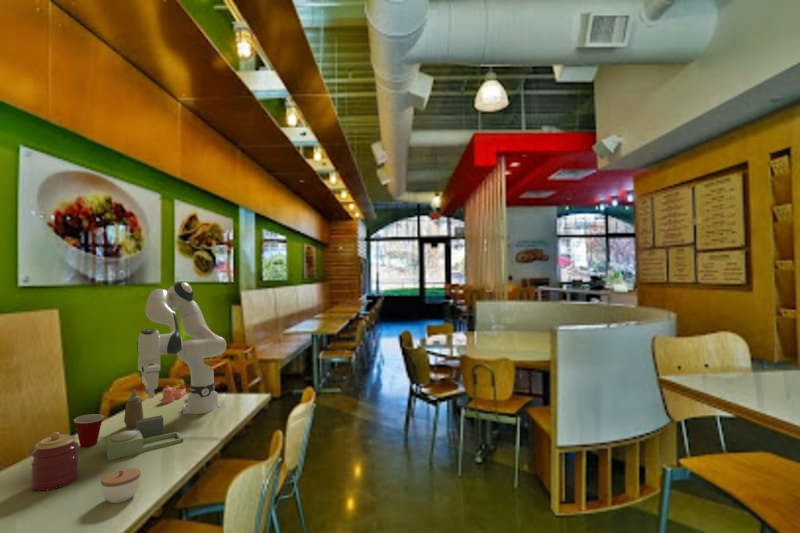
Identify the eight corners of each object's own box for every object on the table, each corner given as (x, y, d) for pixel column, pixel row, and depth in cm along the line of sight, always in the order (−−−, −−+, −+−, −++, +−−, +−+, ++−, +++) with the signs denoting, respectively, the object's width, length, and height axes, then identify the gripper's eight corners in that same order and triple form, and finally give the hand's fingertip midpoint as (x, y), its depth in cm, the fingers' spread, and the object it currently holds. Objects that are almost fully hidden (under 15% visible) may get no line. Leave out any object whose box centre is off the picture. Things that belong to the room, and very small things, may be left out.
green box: (105, 451, 177) (105, 434, 177) (177, 435, 194) (177, 419, 194) (108, 461, 168) (108, 442, 168) (183, 443, 184) (183, 426, 184)
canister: (72, 470, 160) (72, 423, 160) (83, 480, 152) (83, 430, 152) (27, 484, 150) (27, 433, 150) (35, 495, 141) (35, 442, 142)
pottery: (168, 396, 259) (168, 380, 259) (185, 395, 261) (185, 379, 261) (156, 405, 241) (156, 387, 242) (174, 404, 243) (174, 386, 243)
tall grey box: (136, 437, 192) (136, 420, 192) (161, 432, 198) (161, 415, 198) (137, 441, 188) (137, 422, 188) (163, 435, 194) (163, 418, 194)
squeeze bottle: (147, 423, 210) (147, 387, 210) (135, 429, 202) (135, 391, 202) (132, 423, 211) (132, 387, 211) (119, 429, 203) (119, 391, 203)
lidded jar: (147, 490, 144) (147, 462, 144) (128, 507, 133) (128, 477, 133) (114, 491, 144) (114, 463, 144) (93, 508, 133) (93, 478, 133)
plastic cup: (93, 449, 179) (93, 421, 179) (67, 450, 178) (67, 421, 179) (110, 439, 190) (110, 412, 190) (85, 440, 189) (85, 413, 190)
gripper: (138, 363, 200) (138, 392, 200) (144, 369, 184) (144, 402, 183) (153, 361, 204) (153, 390, 203) (161, 367, 188) (161, 399, 187)
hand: (149, 395), depth 193 cm, fingers open, 8 cm apart
